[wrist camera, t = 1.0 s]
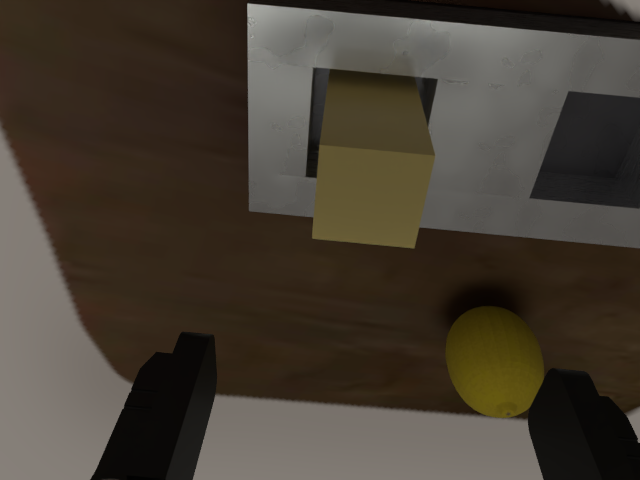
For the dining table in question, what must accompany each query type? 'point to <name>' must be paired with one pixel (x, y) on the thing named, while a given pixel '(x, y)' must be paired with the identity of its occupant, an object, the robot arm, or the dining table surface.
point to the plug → (372, 160)
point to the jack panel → (462, 111)
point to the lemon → (494, 361)
